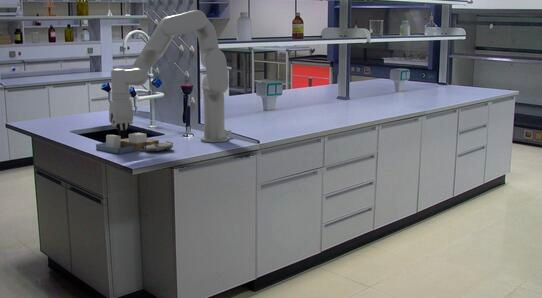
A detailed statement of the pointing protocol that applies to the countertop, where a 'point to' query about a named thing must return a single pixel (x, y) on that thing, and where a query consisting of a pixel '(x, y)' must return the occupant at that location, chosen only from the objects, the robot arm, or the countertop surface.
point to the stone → (159, 146)
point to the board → (137, 144)
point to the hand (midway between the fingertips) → (122, 138)
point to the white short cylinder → (113, 141)
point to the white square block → (137, 137)
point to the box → (114, 149)
